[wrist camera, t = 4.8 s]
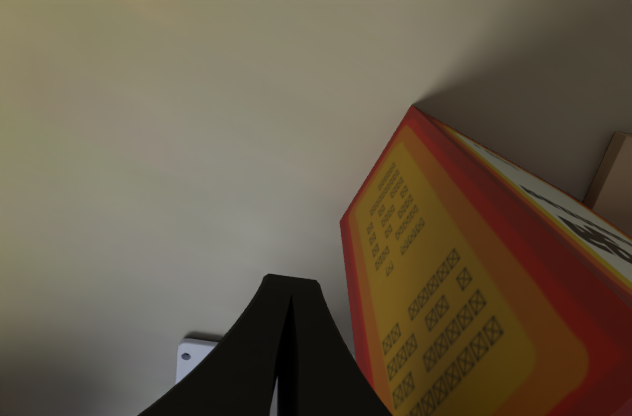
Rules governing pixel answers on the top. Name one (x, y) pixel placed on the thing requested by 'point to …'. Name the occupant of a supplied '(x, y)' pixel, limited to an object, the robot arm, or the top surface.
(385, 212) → the baking soda box
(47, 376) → the top surface
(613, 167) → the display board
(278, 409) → the robot arm
